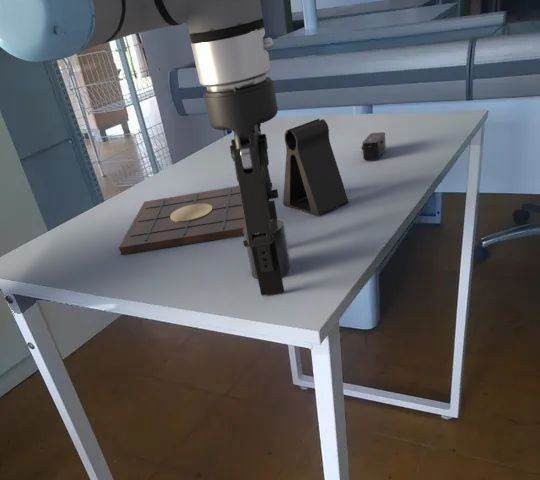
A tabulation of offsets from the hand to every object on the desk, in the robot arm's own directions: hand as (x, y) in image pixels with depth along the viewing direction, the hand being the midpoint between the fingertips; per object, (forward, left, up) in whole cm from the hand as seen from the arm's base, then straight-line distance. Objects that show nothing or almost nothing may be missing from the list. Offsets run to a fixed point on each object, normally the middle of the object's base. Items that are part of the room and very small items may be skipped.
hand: (272, 269), depth 69 cm
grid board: (-13, +23, 0) cm, 27 cm away
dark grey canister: (0, 0, 0) cm, 0 cm away
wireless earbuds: (+19, +42, 0) cm, 46 cm away
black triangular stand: (+7, +21, 0) cm, 22 cm away
